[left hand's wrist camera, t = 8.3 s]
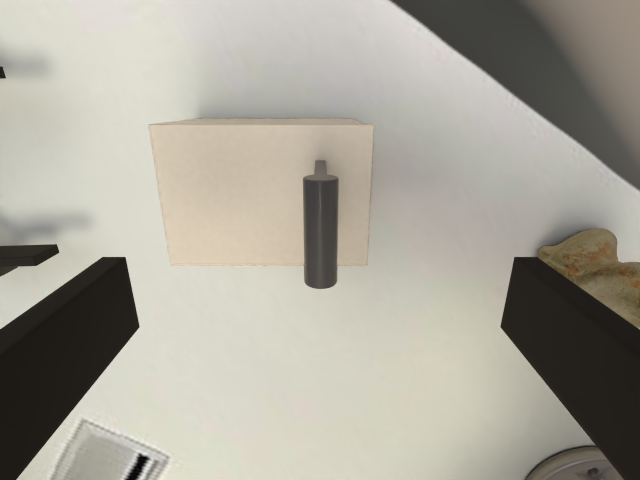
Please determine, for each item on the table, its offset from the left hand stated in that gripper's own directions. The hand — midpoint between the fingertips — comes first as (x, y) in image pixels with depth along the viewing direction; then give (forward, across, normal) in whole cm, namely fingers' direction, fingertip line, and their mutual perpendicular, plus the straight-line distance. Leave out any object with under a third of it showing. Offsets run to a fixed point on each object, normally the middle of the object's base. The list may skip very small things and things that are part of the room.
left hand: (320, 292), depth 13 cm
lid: (+14, +4, 0) cm, 15 cm away
